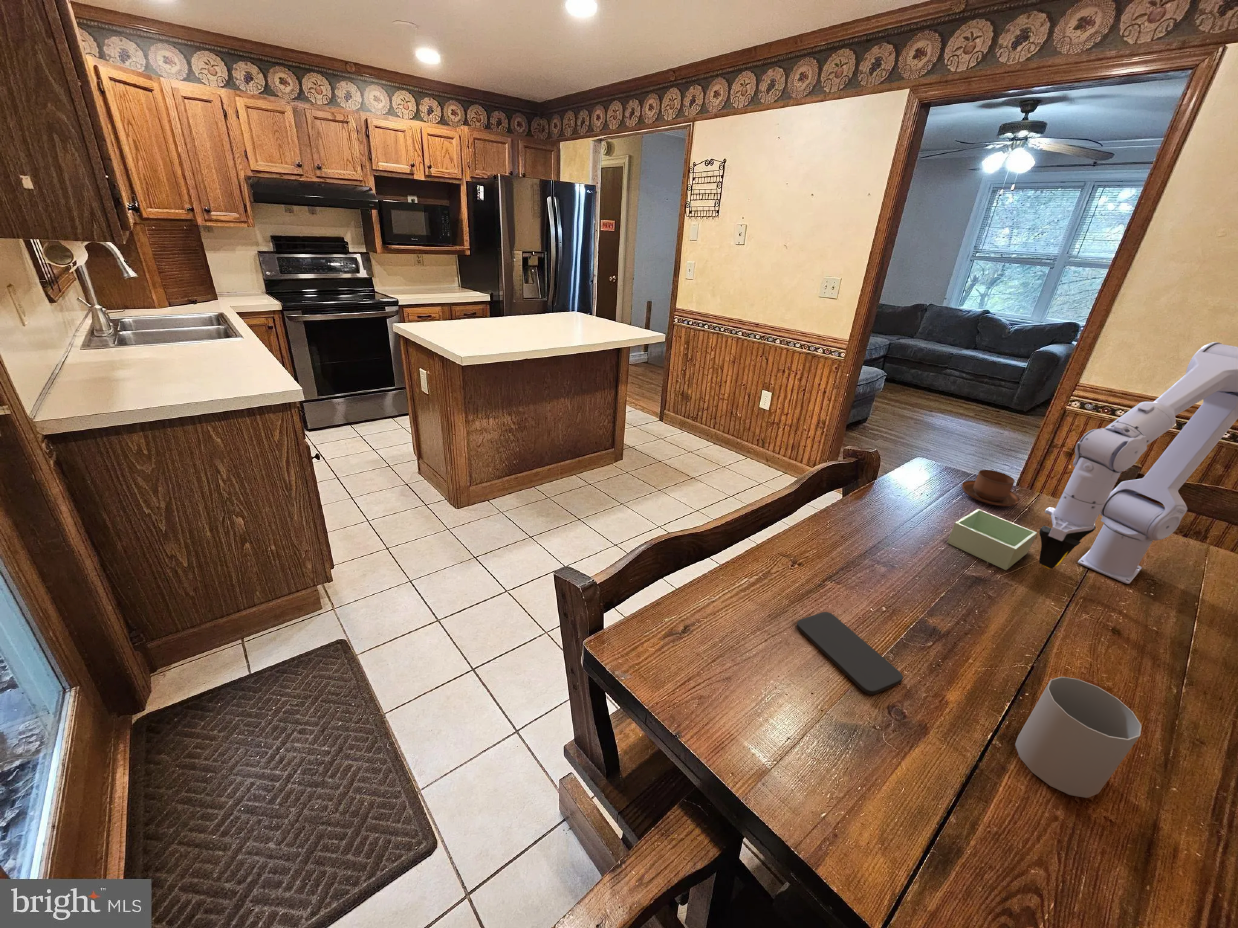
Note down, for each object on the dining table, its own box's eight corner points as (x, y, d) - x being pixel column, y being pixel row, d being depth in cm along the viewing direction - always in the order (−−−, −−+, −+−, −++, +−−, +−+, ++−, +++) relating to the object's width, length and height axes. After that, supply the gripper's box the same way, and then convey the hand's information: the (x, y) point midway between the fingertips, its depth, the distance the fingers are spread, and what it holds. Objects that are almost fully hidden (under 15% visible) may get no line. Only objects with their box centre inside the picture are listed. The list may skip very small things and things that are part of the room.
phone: (828, 610, 85) (907, 677, 73) (827, 614, 85) (905, 681, 73) (793, 621, 82) (869, 693, 70) (792, 625, 82) (868, 697, 70)
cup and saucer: (961, 482, 134) (969, 461, 132) (1016, 497, 128) (1026, 475, 126) (957, 499, 125) (966, 477, 123) (1016, 516, 119) (1027, 493, 117)
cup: (999, 733, 66) (1030, 677, 62) (1057, 730, 67) (1091, 675, 63) (1054, 799, 59) (1094, 741, 54) (1119, 795, 60) (1163, 738, 55)
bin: (970, 528, 113) (978, 508, 111) (1027, 553, 105) (1037, 532, 103) (946, 542, 107) (954, 522, 105) (1005, 570, 99) (1015, 549, 97)
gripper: (1070, 477, 97) (1041, 538, 103) (1042, 497, 89) (1012, 561, 95) (1118, 493, 92) (1085, 555, 98) (1093, 515, 84) (1058, 581, 90)
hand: (1052, 559), depth 96 cm, fingers closed on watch, 6 cm apart
